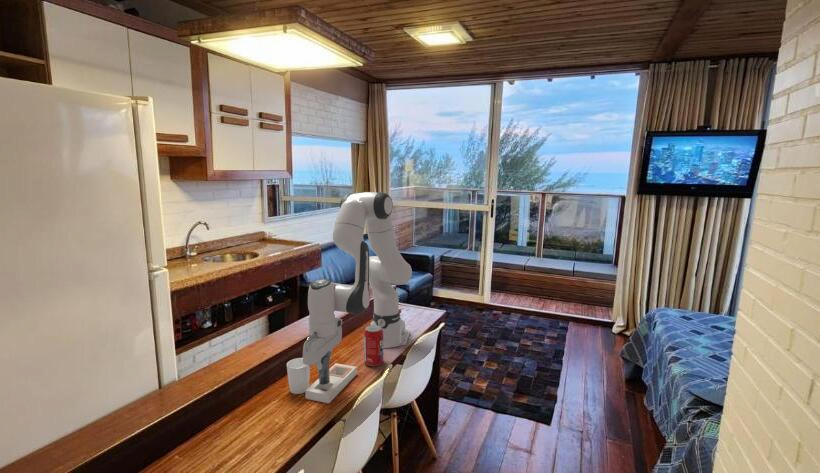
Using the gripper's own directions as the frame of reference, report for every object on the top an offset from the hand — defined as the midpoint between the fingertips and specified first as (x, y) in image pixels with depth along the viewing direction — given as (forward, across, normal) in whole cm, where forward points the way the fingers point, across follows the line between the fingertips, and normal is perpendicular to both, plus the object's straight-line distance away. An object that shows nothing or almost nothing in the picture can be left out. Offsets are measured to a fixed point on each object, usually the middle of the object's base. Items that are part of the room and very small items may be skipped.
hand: (323, 365), depth 140 cm
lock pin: (+6, 0, 0) cm, 6 cm away
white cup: (+11, 0, +10) cm, 15 cm away
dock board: (+11, +6, 0) cm, 12 cm away
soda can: (+11, +27, -7) cm, 30 cm away
